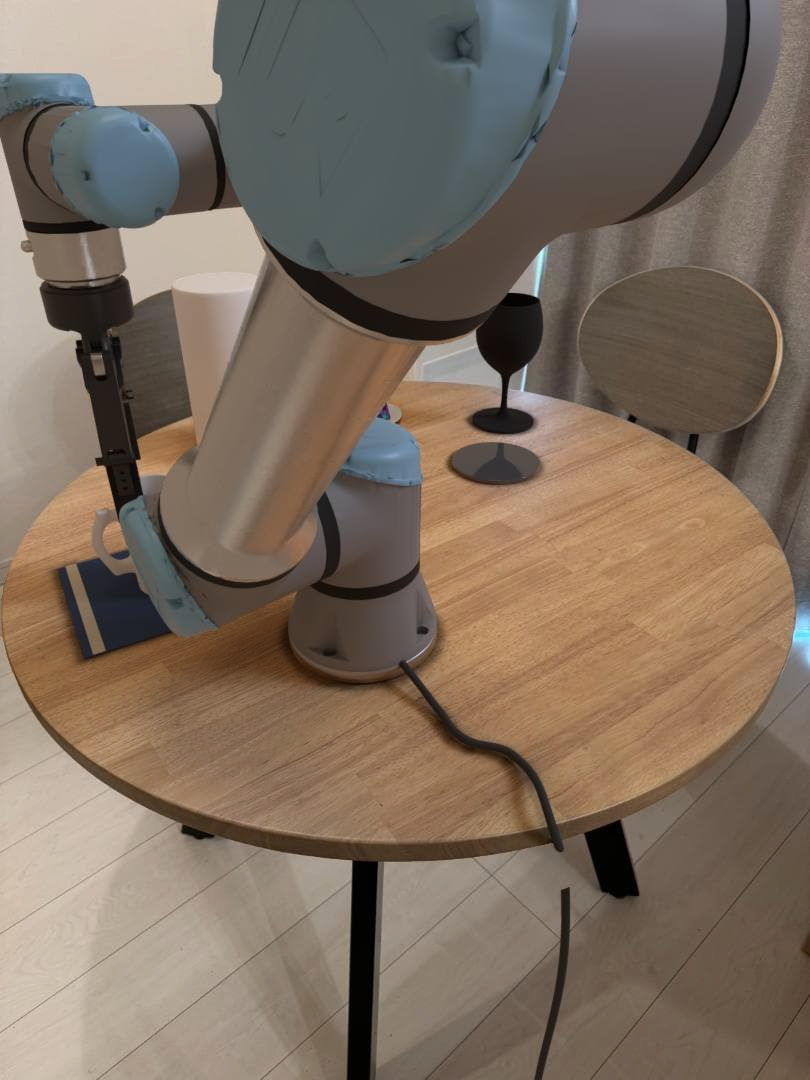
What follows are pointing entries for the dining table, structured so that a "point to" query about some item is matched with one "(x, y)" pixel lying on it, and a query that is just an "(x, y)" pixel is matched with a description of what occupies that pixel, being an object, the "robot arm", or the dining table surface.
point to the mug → (106, 516)
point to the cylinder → (209, 332)
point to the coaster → (496, 463)
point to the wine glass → (509, 356)
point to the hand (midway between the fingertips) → (130, 488)
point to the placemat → (108, 607)
